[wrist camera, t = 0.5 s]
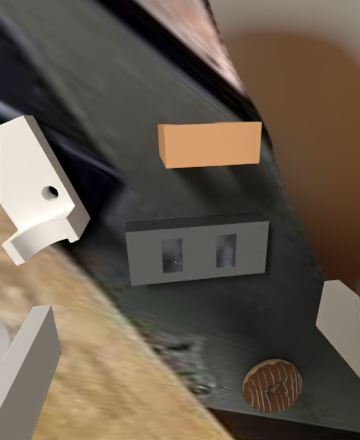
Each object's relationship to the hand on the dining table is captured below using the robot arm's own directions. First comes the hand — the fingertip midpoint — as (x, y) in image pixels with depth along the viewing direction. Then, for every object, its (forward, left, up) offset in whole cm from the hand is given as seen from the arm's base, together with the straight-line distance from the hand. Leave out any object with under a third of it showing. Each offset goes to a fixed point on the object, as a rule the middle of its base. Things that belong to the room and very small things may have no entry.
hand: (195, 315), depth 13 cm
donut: (+35, +17, -24) cm, 46 cm away
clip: (-7, +4, -24) cm, 25 cm away
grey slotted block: (+7, +4, -24) cm, 25 cm away
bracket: (-3, -15, -24) cm, 28 cm away
